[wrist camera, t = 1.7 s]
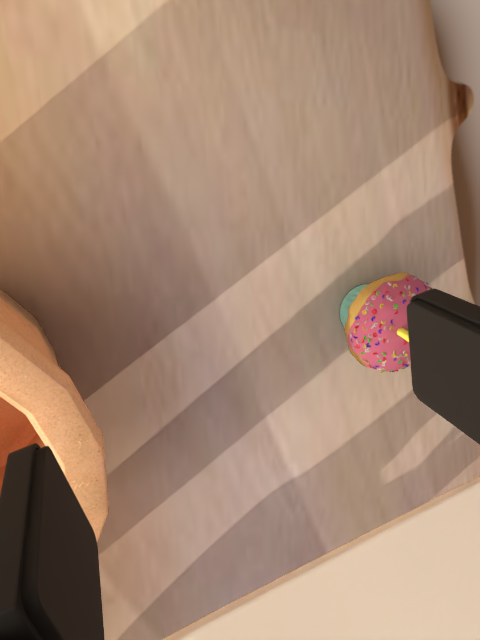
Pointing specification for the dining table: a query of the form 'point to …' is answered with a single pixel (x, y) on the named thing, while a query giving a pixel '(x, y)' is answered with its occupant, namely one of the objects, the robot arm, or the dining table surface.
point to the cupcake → (380, 321)
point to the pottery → (48, 411)
